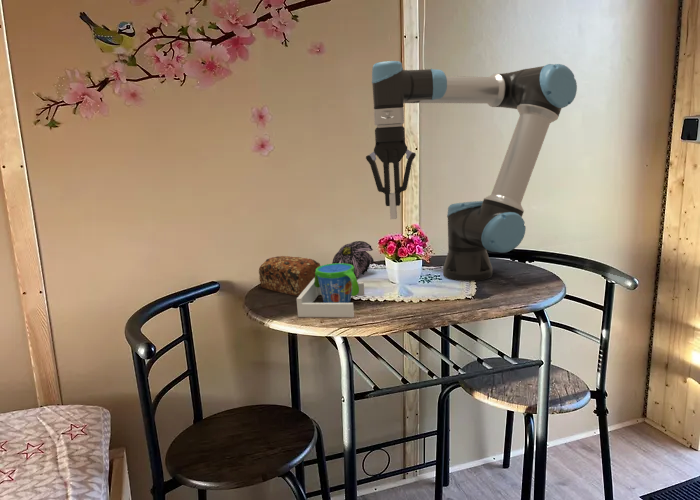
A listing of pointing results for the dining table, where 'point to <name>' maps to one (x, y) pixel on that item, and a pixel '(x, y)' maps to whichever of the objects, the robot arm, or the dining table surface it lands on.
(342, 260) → the decorative flower
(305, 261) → the bread
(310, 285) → the fence
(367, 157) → the robot arm
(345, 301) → the snack cup
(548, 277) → the dining table surface
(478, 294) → the dining table surface
